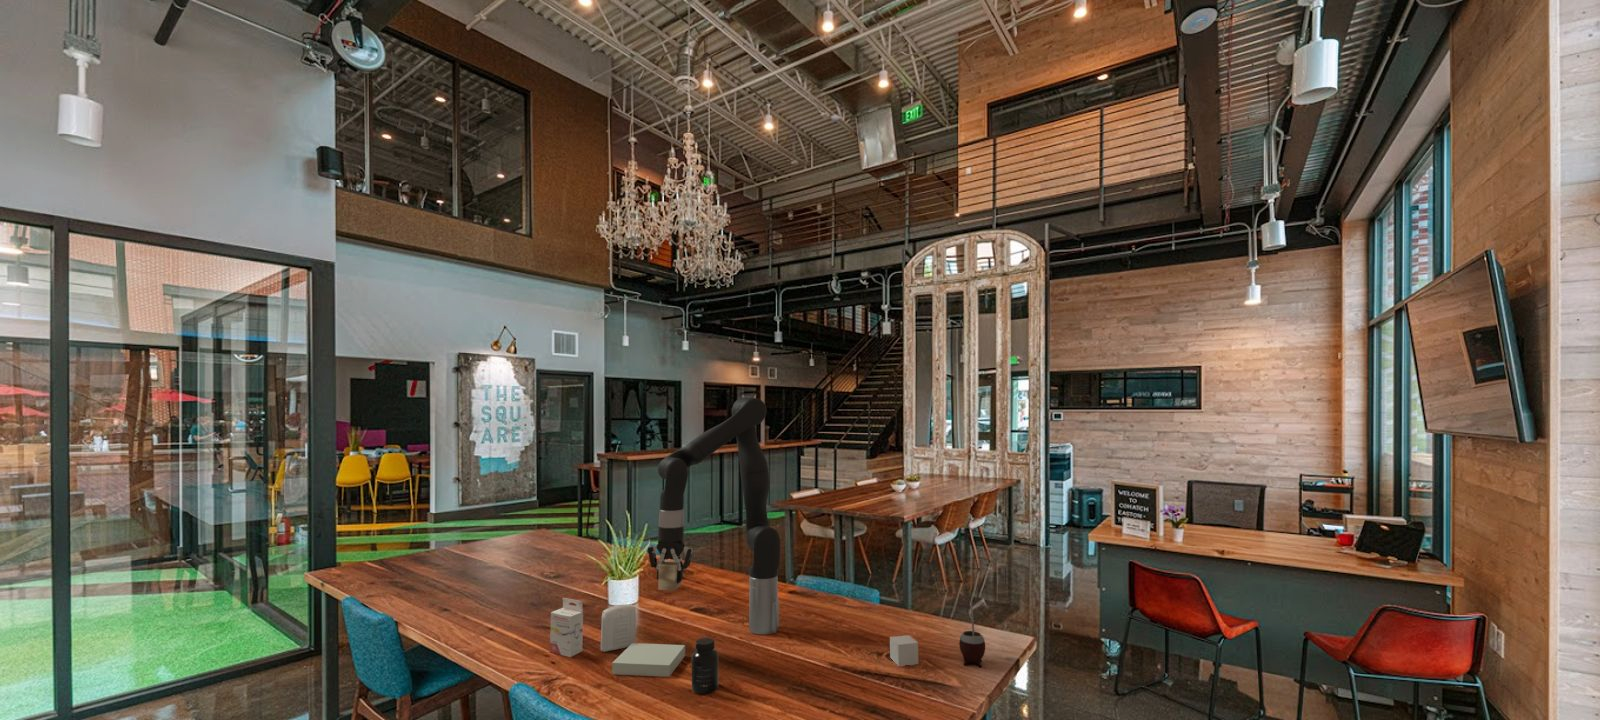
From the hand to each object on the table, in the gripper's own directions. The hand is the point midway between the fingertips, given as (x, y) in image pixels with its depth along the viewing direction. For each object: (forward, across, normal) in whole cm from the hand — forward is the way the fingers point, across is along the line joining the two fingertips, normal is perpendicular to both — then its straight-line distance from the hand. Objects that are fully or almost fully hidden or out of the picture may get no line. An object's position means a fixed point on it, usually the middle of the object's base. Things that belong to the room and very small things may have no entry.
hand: (669, 582), depth 185 cm
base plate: (+20, +2, +10) cm, 22 cm away
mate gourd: (+19, -88, -2) cm, 90 cm away
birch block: (+1, 0, 0) cm, 1 cm away
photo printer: (+20, +16, -1) cm, 26 cm away
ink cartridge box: (+21, +30, +4) cm, 37 cm away
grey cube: (+19, -69, -1) cm, 72 cm away
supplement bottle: (+20, -18, +22) cm, 35 cm away
